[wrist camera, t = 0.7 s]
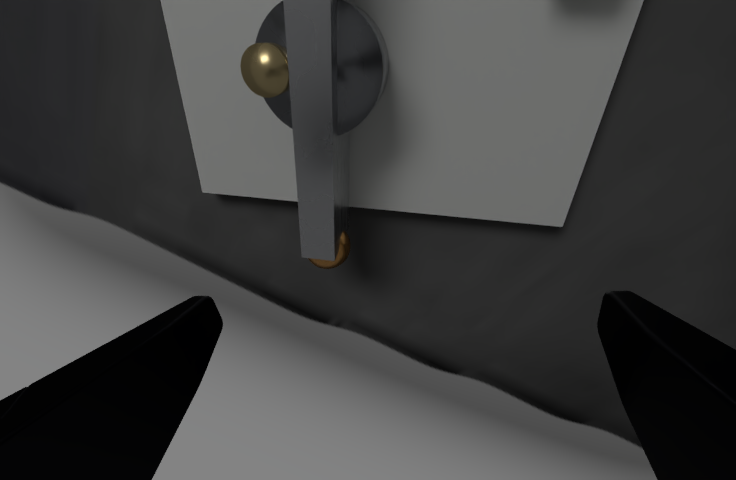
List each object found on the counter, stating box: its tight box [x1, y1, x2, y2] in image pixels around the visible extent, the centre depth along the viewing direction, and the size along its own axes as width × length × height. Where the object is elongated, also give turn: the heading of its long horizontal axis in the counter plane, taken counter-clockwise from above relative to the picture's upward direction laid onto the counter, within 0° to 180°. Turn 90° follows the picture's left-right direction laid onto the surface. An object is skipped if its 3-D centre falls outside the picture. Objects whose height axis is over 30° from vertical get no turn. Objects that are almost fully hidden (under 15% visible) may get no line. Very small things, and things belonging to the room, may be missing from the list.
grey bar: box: [240, 0, 389, 269], centre depth 15 cm, size 5×18×4 cm, turn 178°
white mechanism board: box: [161, 0, 644, 227], centre depth 14 cm, size 20×16×4 cm
